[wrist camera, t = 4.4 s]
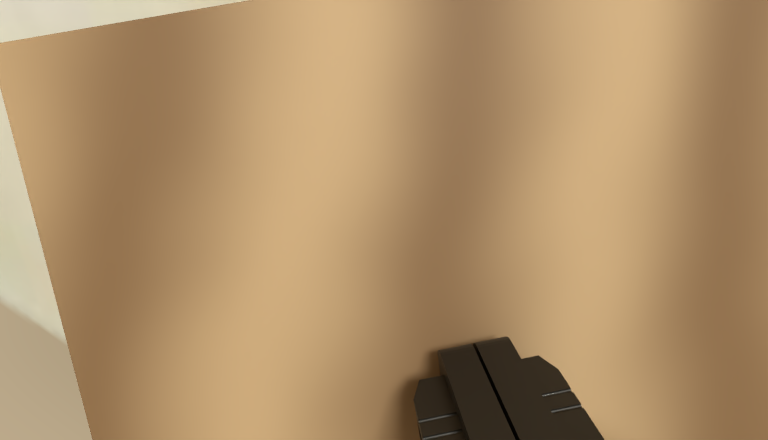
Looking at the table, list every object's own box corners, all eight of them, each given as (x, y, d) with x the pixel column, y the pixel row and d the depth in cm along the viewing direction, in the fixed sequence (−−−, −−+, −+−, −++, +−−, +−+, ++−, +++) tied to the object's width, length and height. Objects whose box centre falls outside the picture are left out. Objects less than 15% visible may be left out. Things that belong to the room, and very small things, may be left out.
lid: (767, -73, 12) (811, -99, 11) (820, 519, 13) (863, 552, 12) (21, 55, 11) (-17, 43, 10) (175, 657, 13) (158, 705, 12)
